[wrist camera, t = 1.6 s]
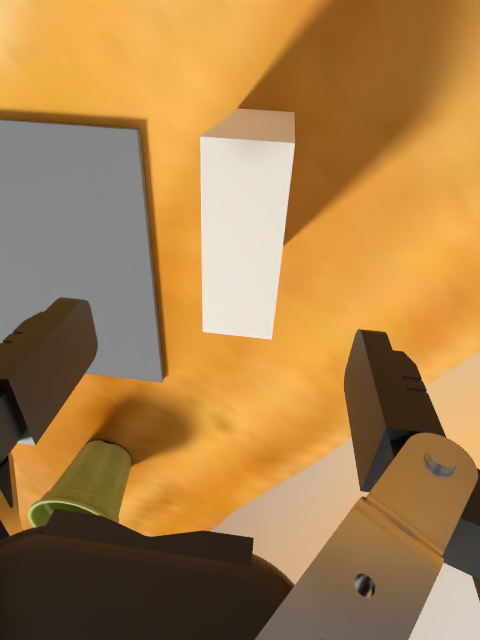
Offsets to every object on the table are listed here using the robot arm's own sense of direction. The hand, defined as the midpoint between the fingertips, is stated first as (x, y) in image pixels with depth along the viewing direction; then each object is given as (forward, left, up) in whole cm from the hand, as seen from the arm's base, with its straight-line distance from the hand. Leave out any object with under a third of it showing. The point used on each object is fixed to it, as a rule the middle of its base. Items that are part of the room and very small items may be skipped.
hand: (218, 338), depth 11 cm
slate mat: (+8, -17, -17) cm, 25 cm away
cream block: (0, 0, -17) cm, 17 cm away
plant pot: (+33, -16, -17) cm, 41 cm away
